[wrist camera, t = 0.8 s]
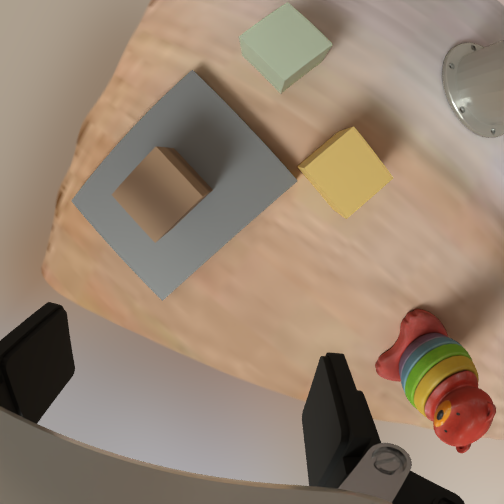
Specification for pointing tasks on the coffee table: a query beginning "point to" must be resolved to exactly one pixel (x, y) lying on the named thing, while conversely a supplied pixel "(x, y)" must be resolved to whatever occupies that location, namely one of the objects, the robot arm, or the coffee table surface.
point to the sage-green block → (284, 46)
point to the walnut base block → (161, 191)
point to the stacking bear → (438, 380)
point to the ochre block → (345, 171)
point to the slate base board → (210, 170)
